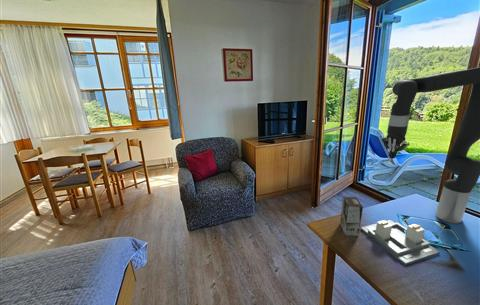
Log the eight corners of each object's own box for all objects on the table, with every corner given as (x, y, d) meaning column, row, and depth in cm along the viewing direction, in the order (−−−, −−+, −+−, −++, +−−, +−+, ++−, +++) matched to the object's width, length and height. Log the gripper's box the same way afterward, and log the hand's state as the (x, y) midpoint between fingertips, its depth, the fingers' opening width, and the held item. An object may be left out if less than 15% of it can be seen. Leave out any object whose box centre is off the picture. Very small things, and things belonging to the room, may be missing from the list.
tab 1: (381, 232, 95) (384, 218, 93) (389, 238, 91) (392, 224, 89) (374, 234, 94) (377, 220, 92) (382, 240, 91) (385, 226, 88)
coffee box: (359, 236, 96) (363, 207, 91) (344, 235, 97) (348, 206, 92) (353, 223, 104) (356, 196, 99) (339, 222, 106) (342, 196, 101)
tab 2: (411, 236, 92) (415, 222, 89) (421, 242, 88) (425, 227, 85) (404, 238, 91) (408, 224, 88) (414, 244, 87) (417, 230, 84)
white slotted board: (389, 221, 104) (390, 217, 103) (439, 254, 83) (440, 249, 83) (360, 229, 100) (361, 225, 99) (404, 265, 80) (406, 260, 79)
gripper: (418, 125, 91) (411, 161, 96) (391, 121, 103) (386, 153, 109) (405, 127, 89) (398, 163, 95) (379, 123, 102) (374, 155, 107)
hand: (391, 158), depth 102 cm, fingers closed
